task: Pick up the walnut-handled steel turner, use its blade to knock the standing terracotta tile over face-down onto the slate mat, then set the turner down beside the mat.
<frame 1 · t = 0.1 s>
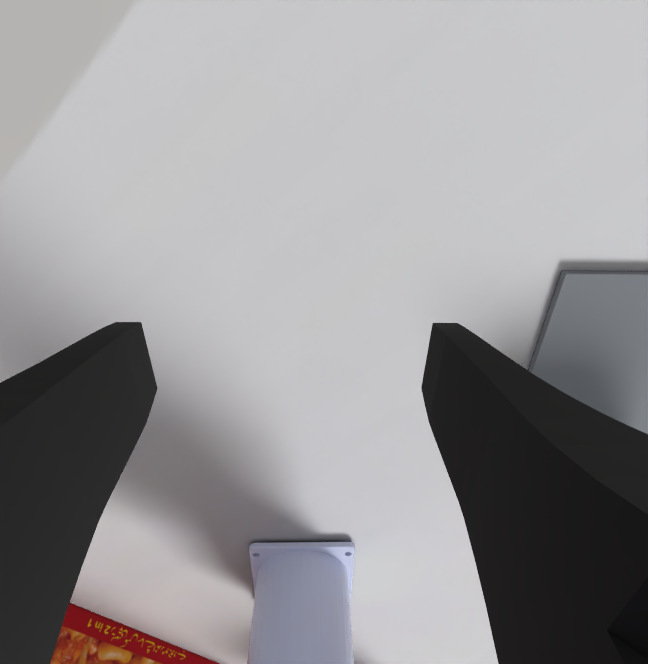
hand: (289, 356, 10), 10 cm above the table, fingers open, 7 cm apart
mat: (596, 409, 25), on the table
pasta box: (117, 643, 40), on the table
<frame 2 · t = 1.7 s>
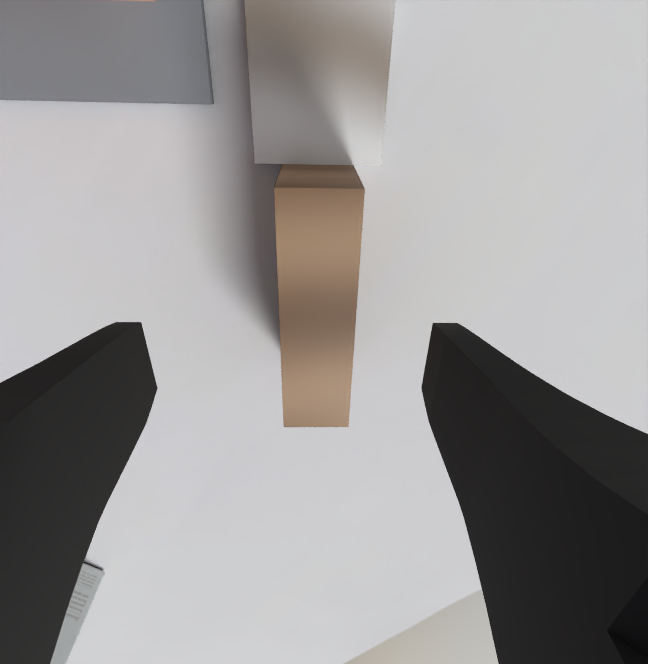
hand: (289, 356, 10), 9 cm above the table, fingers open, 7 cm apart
supplement box: (41, 569, 32), on the table
turner: (317, 210, 18), on the table
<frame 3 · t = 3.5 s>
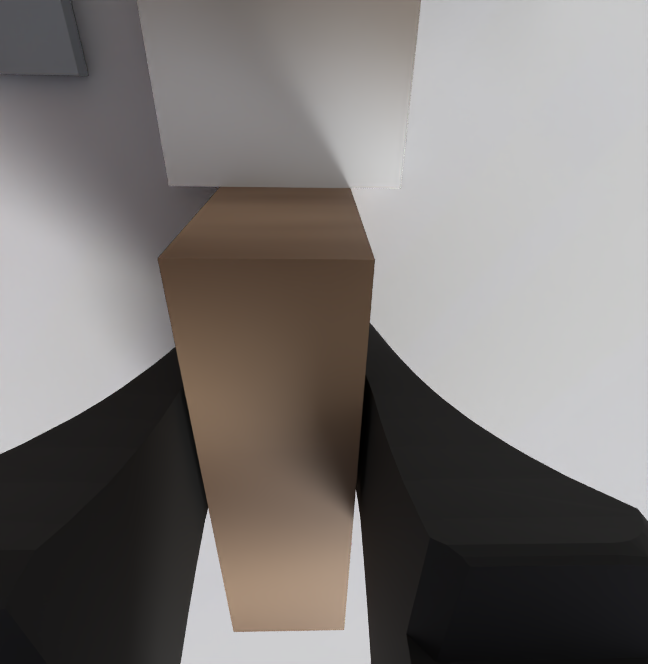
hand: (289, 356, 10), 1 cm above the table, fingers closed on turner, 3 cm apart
turner: (289, 261, 11), on the table, touching gripper
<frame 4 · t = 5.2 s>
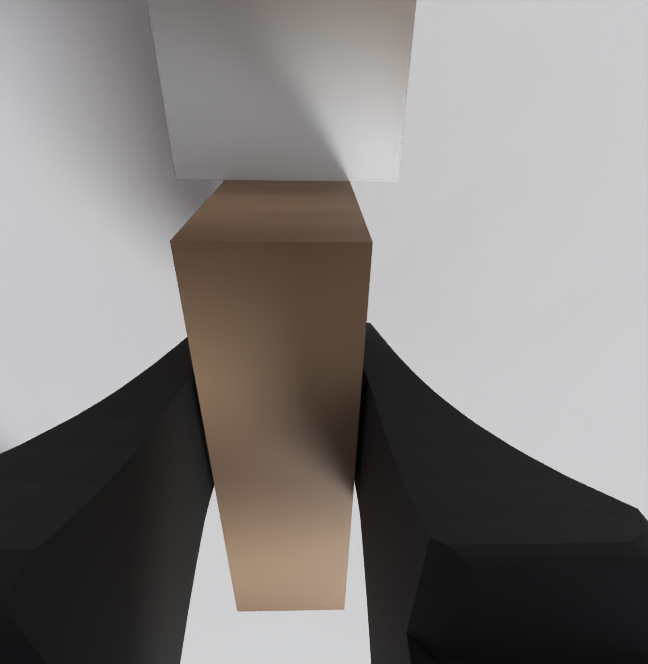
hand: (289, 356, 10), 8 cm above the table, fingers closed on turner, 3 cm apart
turner: (291, 252, 11), point 6 cm above the table, touching gripper
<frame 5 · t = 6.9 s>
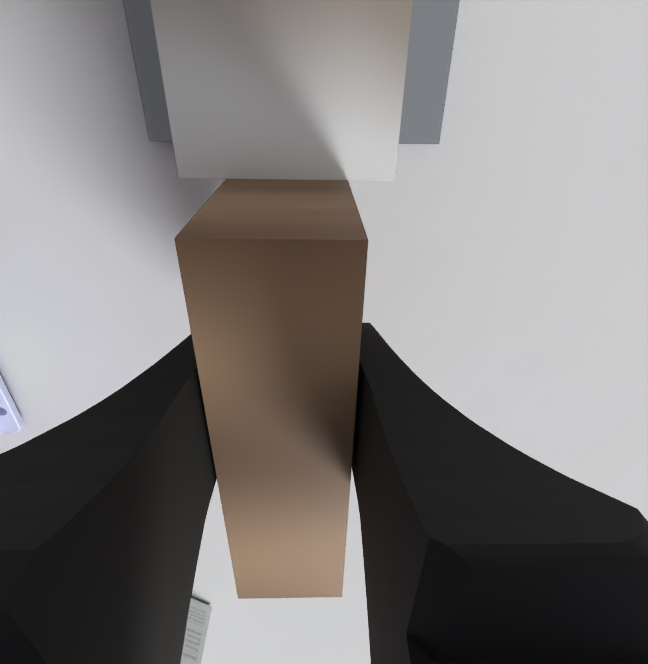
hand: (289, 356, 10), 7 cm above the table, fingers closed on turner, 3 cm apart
supplement box: (146, 604, 31), on the table
turner: (291, 249, 11), point 5 cm above the table, touching gripper
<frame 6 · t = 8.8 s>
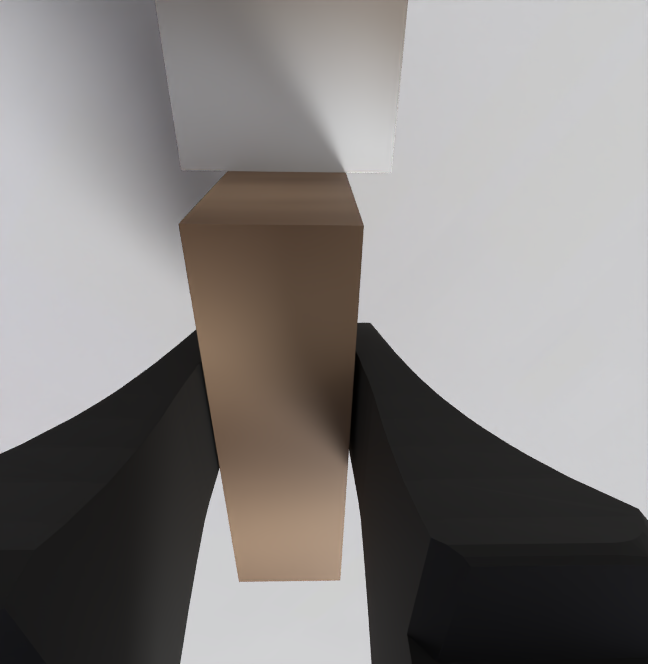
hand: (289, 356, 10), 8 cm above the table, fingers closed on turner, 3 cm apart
turner: (290, 241, 12), point 5 cm above the table, touching gripper
when the fingers open (3 cm above the table, at t = 10.2 s): turner stays where it is, on the table.
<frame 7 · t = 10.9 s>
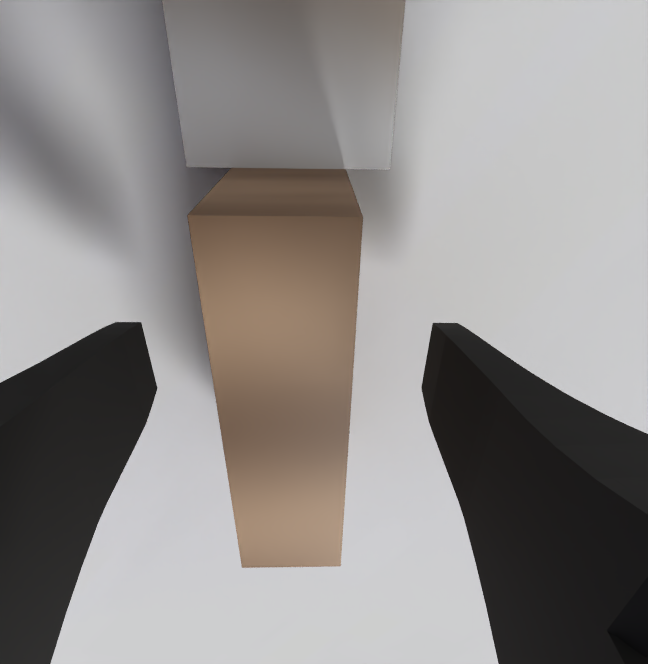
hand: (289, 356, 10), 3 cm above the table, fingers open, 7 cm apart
turner: (292, 237, 12), on the table
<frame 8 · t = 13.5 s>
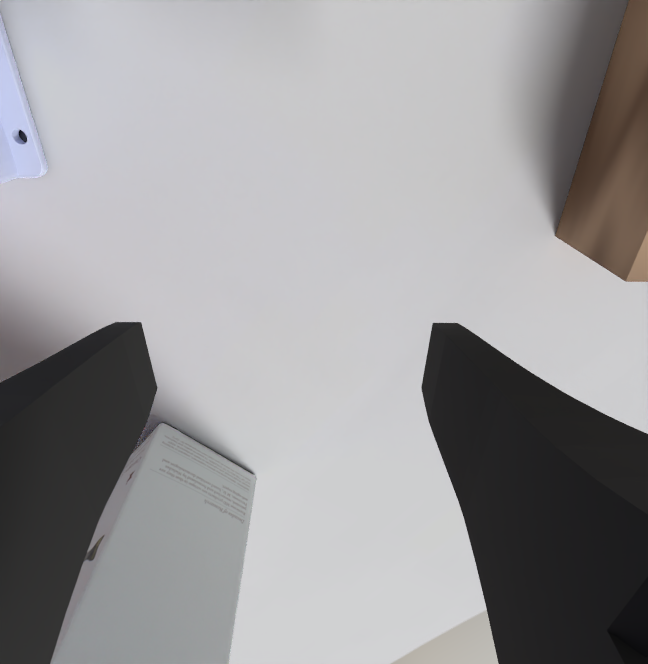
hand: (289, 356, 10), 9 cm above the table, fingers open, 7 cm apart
supplement box: (179, 475, 27), on the table
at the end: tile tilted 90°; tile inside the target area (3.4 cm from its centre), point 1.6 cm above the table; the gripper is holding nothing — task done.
